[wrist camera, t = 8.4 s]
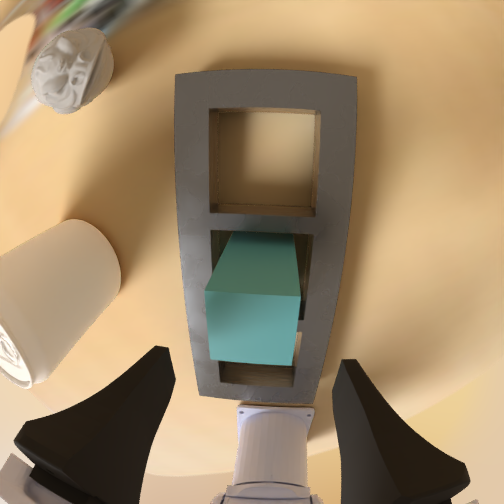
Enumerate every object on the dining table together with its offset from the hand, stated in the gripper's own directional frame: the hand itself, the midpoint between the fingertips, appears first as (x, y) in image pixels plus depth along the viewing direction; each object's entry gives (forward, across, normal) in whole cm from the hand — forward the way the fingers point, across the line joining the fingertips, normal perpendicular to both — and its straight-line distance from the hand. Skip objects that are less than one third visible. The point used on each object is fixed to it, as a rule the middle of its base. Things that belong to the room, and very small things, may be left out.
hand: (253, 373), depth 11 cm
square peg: (+10, 0, -1) cm, 10 cm away
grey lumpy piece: (+10, +12, -15) cm, 22 cm away
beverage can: (+10, +15, 0) cm, 18 cm away
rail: (+10, 0, -1) cm, 10 cm away
